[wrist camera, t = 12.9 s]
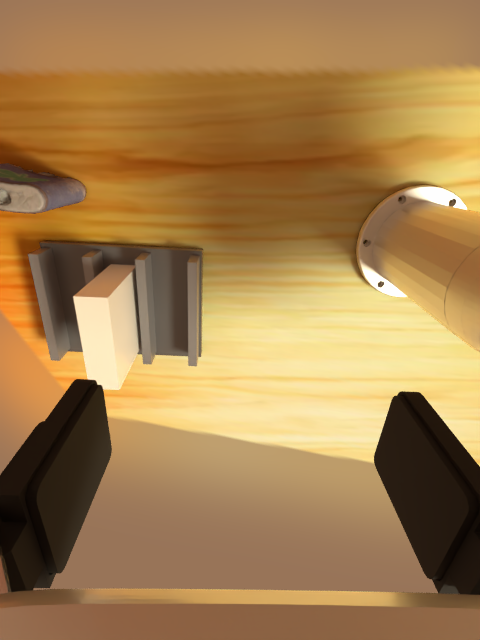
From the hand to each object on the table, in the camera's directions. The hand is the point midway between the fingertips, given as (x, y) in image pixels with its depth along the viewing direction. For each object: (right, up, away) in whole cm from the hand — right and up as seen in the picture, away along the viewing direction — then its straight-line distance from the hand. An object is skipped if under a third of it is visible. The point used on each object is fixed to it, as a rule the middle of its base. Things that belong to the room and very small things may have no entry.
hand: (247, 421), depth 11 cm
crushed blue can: (-21, +18, +25) cm, 37 cm away
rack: (-14, +6, +31) cm, 34 cm away
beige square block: (-14, +5, +30) cm, 33 cm away
